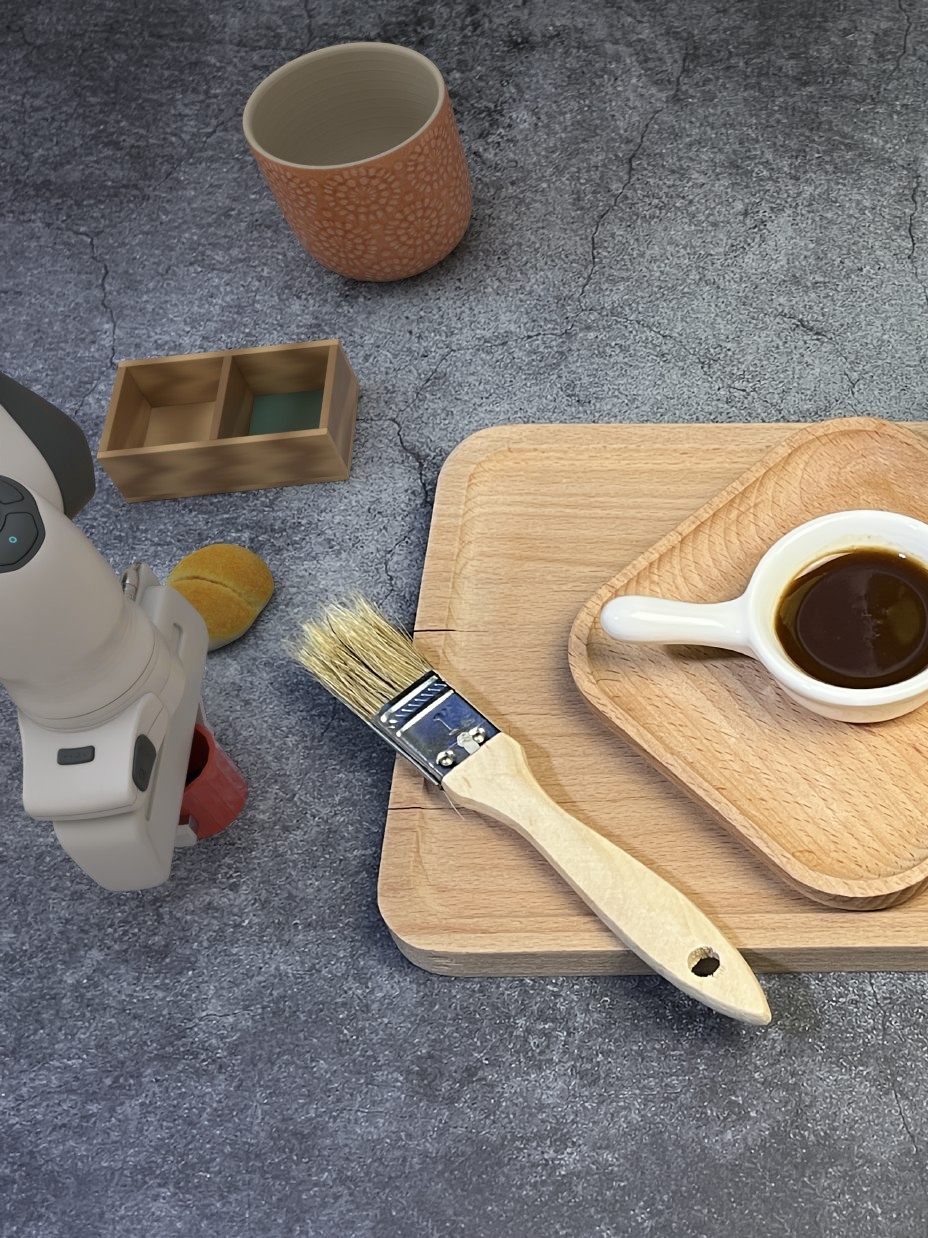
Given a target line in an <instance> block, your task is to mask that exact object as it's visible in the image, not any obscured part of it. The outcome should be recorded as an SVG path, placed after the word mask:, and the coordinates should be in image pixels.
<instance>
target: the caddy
mask: <svg viewBox="0 0 928 1238" xmlns="http://www.w3.org/2000/svg"><path fill="white" fill-rule="evenodd" d="M114 378H115V379H114V382H113V387H112V391H111V396H110V398H109V399H110V400H109V404H108V408H107V413H106V416H105V422H104V425H103V429H102V432H101V438H100V441H99V446H98V450H97V455H96V460H97V461H98V463H99V464H100V465H101V468H103V470H104V471H105V473H106V474H107V476H108V477H109V478H110V480H111V481H112V483H113V485H114V486H115V487H116V488H117V490H118V491H119V493H120V494H121V496H122V497H123V498H124V500H125V502H126V503H127V504H134V503H143V502H152V501H163V500H172V499H180V498H189V497H191V498H192V497H198V496H199V497H200V496H209V495H218V494H219V495H220V494H227V493H236V492H246V491H255V490H264V489H275V488H284V487H292V486H293V487H294V486H302V485H303V486H304V485H312V484H321V483H322V484H323V483H330V482H331V483H332V482H340V481H349V480H350V476H351V467H352V459H353V452H354V451H353V450H354V441H355V434H356V432H355V431H356V424H357V415H358V405H359V398H360V389H361V388H360V387H361V384H360V382H359V381H358V378H357V376H356V373H355V372H354V369H353V367H352V365H351V363H350V361H349V358H348V356H347V354H346V352H345V350H344V347H343V344H342V343H341V341H340V338H330V339H320V340H312V341H310V340H309V341H304V342H303V341H301V342H293V343H281V344H272V345H263V346H254V347H253V346H252V347H243V348H234V349H226V350H225V349H224V350H216V351H206V352H196V353H187V354H178V355H177V354H176V355H169V356H157V357H150V358H140V359H139V358H138V359H131V360H129V359H128V360H121V361H120V360H119V363H118V368H117V370H116V375H115V377H114Z"/></svg>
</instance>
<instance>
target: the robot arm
mask: <svg viewBox="0 0 928 1238" xmlns="http://www.w3.org/2000/svg"><path fill="white" fill-rule="evenodd" d="M95 473H96V472H95V466H94V460H93V456H92V452H91V448H90V444H89V442H88V440H87V437H86V435H85V433H84V431H83V430H82V428H81V427H80V425H79V424H77V422H76V421H75V420H74V419H72V418H71V417H70V416H69V415H67V413H65V412H64V411H63V410H61V409H60V408H58V407H57V406H56V405H54V404H53V403H52V402H50V401H49V400H47V399H46V398H44V397H43V396H41V395H39V394H38V393H36V392H35V391H33V390H31V389H30V388H28V387H26V386H25V385H23V384H22V383H20V382H18V381H17V380H15V379H14V378H12V377H11V376H9V375H8V374H5V372H2V371H1V370H0V684H1V685H2V686H3V688H4V689H5V692H6V693H7V695H8V697H9V698H10V700H11V701H12V703H13V704H14V705H15V706H16V707H17V709H16V710H17V711H16V717H17V724H18V729H19V734H20V741H21V749H22V750H21V751H22V795H21V796H22V806H23V808H24V810H25V813H26V814H27V815H28V816H30V818H32V819H33V820H34V821H40V822H52V827H53V831H54V834H55V837H56V839H57V841H58V842H59V844H60V846H61V848H62V849H63V850H64V851H65V853H66V854H67V855H68V856H69V857H70V858H71V860H72V861H73V862H74V863H75V864H76V865H77V866H78V867H80V869H81V870H82V871H83V872H84V873H85V874H86V875H87V876H88V877H89V878H91V879H92V880H93V881H94V882H95V883H96V884H97V885H99V886H100V887H101V888H103V889H104V890H107V891H110V892H133V891H142V890H147V889H153V888H155V887H159V886H160V885H163V884H164V883H166V882H167V881H168V880H169V878H170V876H171V870H172V863H173V857H174V851H175V848H184V847H193V846H195V845H197V841H198V839H197V836H198V828H199V823H198V822H196V821H195V818H194V817H193V816H192V815H191V814H187V815H181V816H180V810H181V804H182V799H183V793H184V788H185V787H186V780H187V776H188V774H187V769H188V763H189V757H190V751H191V746H192V740H193V734H194V728H195V723H196V724H200V725H202V726H203V727H204V728H205V729H206V730H207V731H209V732H210V733H211V734H212V736H213V737H215V729H214V727H212V725H211V724H210V722H209V721H208V719H207V715H206V710H205V705H204V702H203V696H202V685H203V680H204V675H205V674H204V673H205V670H206V669H205V668H206V664H207V663H206V662H207V656H208V652H209V651H208V646H209V634H208V630H207V626H206V623H205V621H204V619H203V617H202V616H201V615H200V614H199V613H198V611H197V610H196V609H195V608H194V607H193V606H192V605H191V604H190V602H189V601H188V600H187V599H186V598H185V597H184V596H183V595H182V594H181V593H180V592H178V591H177V590H176V589H175V588H173V587H171V586H169V585H165V584H161V581H160V580H159V578H158V576H157V575H156V573H155V572H154V571H153V569H152V568H151V567H150V565H149V564H147V563H145V562H141V561H135V562H133V563H132V564H130V565H129V567H127V568H124V569H123V571H122V572H121V574H120V576H118V575H117V573H116V572H115V570H114V568H113V567H112V566H111V564H110V563H109V562H108V561H107V559H106V558H105V556H103V554H102V553H101V552H100V551H99V549H98V548H97V547H96V546H95V545H94V543H93V542H92V541H91V540H90V539H89V538H88V537H87V536H86V534H85V533H84V532H83V531H82V530H81V529H80V528H79V527H78V526H77V525H76V524H75V523H74V522H73V519H74V518H75V517H76V516H77V515H78V514H79V513H80V512H81V511H82V510H83V509H84V508H85V507H86V506H87V505H88V504H89V502H91V500H93V498H94V496H95V495H96V489H97V487H96V486H97V485H96V474H95Z"/></svg>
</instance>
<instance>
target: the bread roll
mask: <svg viewBox="0 0 928 1238" xmlns="http://www.w3.org/2000/svg"><path fill="white" fill-rule="evenodd" d="M164 585H169V586H171V587H173V588H175V589H176V590H177V591H178V592H180V593H181V594H182V595H183V596H184V597H185V598H186V599H187V600H188V601H189V602H190V604H191V605H192V606H193V607H194V608H195V609H196V610H197V611H198V613H199V614H200V615H201V616H202V617H203V619H204V621H205V623H206V626H207V630H208V634H209V646H208V651H207V652H213V651H216V650H217V649H221V648H222V647H225V646H226V645H229V644H231V643H232V642H234V641H236V640H238V639H240V638H241V637H242V636H244V634H246V633H247V631H248V630H249V629H250V628H251V626H253V624H254V622H255V621H256V619H258V616H259V615H260V613H261V612H262V611H263V610H264V609H265V607H266V606H267V605H268V603H269V602H270V600H271V599H272V596H273V594H274V593H275V583H274V579H273V575H272V573H271V571H270V568H269V567H268V565H267V564H266V562H265V561H264V560H263V559H262V558H261V557H259V556H258V555H257V554H256V553H255V552H253V551H252V550H250V549H248V548H246V547H244V546H241V545H239V544H233V543H214V544H210V545H207V546H205V547H201V548H199V549H197V550H195V551H194V552H192V553H190V554H188V555H186V556H185V557H183V558H182V559H180V561H179V562H178V563H177V564H176V565H175V566H174V567H173V569H172V571H170V574H169V575H168V577H167V580H166V581H165V582H164Z"/></svg>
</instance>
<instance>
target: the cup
mask: <svg viewBox="0 0 928 1238" xmlns="http://www.w3.org/2000/svg"><path fill="white" fill-rule="evenodd" d="M201 769H202V771H201V772H200V773H199V775H198V776H197V777H195V779H194V780H192V781H191V782H190V783H189V784H188V785H186V786H185V787H184V793H183V799H182V804H181V810H180V816H181V815H187V814H191V815H192V816H193V817H194V818H195V821H196V822H198V823H199V828H198V836H197V840H198V839H205V838H208V837H211V836H213V835H215V834H218V833H220V832H222V831H224V830H225V829H226V828H227V827H229V825H230V824H232V823H233V822H234V821H235V820H236V819H237V818H238V817H239V816H240V813H241V811H242V810H243V808H244V807H245V805H246V803H247V795H248V788H249V787H248V784H247V781H246V779H245V776H244V773H242V771H241V770H240V768H239V767H238V766H237V765H236V764H235V762H234V761H233V759H232V758H231V757H230V756H229V755H228V753H227V752H226V751H225V750H224V749H223V746H222V745H221V744H220V743H219V742H218V740H216V738H215V736H212V734H211V733H210V732H209V731H207V730H206V729H205V728H204V727H203V726H202V725H200V724H196V723H195V728H194V734H193V740H192V746H191V751H190V757H189V763H188V769H187V775H189V774H191V773H194V772H196V771H199V770H201Z"/></svg>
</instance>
